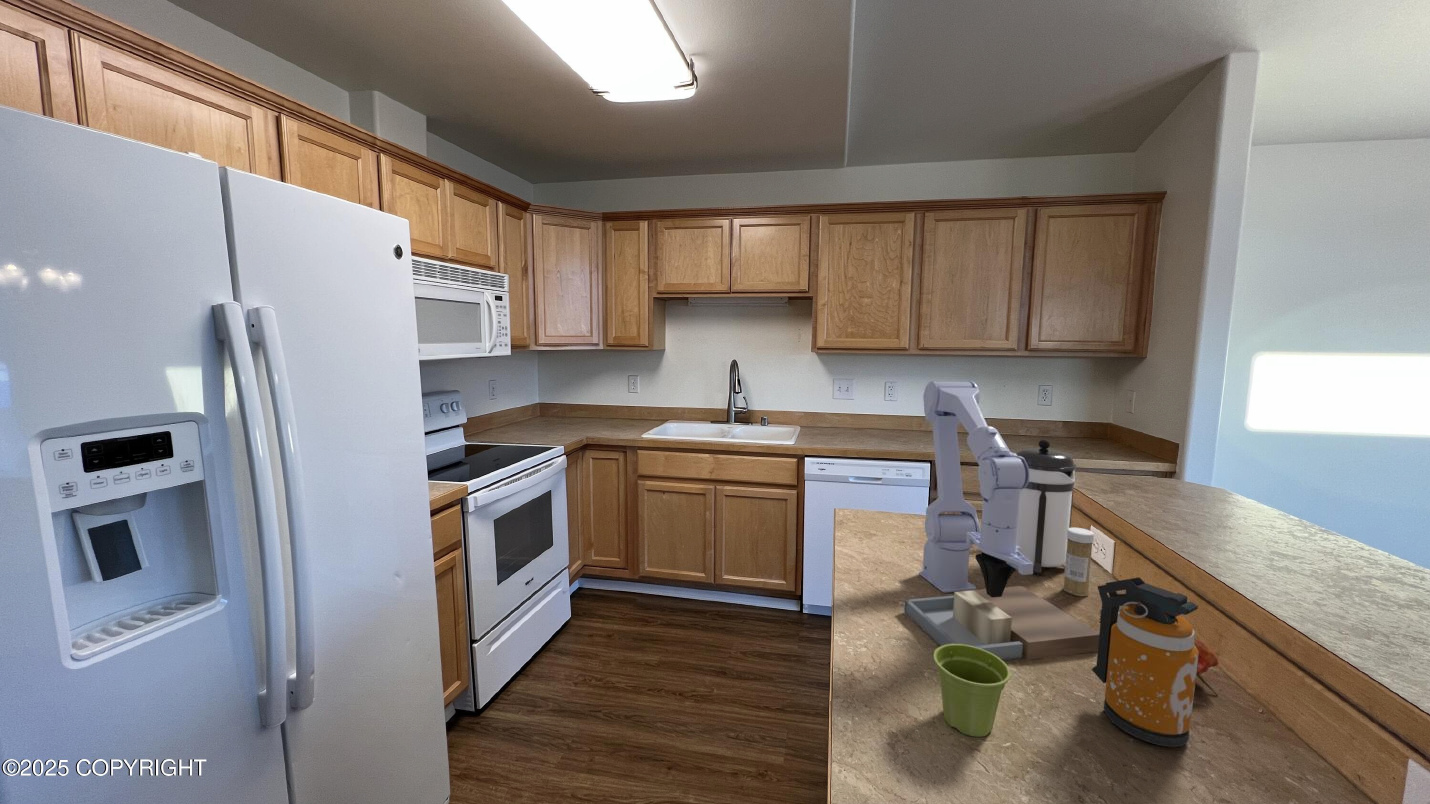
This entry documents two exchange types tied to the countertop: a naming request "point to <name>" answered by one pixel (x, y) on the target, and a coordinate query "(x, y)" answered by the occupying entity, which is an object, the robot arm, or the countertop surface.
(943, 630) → the box
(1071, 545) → the sprinkles bottle
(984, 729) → the plant pot
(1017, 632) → the walnut plate
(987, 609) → the cream rectangular box
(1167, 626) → the canister
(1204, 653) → the pomegranate
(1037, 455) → the coffee press
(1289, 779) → the countertop surface
